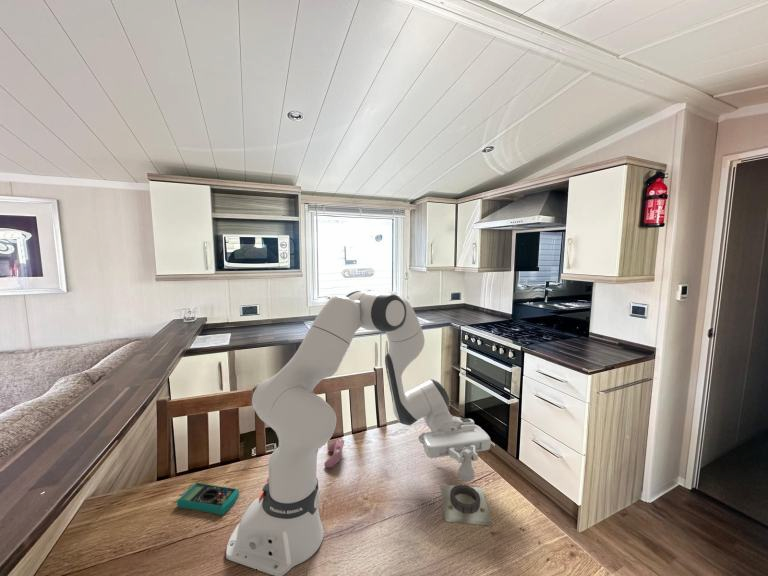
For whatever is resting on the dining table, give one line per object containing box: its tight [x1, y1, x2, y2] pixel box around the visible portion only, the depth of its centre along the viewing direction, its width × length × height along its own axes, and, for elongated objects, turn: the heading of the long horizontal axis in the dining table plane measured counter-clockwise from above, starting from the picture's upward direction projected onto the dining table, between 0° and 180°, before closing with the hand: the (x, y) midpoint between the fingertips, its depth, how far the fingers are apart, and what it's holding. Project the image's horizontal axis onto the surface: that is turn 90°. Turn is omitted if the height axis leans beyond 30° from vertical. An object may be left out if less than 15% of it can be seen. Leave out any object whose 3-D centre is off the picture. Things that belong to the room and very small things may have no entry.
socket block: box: [440, 484, 493, 526], centre depth 88 cm, size 12×12×3 cm
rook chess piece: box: [457, 447, 475, 482], centre depth 87 cm, size 4×4×8 cm
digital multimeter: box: [176, 482, 240, 516], centre depth 88 cm, size 7×15×3 cm, turn 80°
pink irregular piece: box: [324, 438, 345, 469], centre depth 107 cm, size 10×5×7 cm, turn 1°
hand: (468, 459), depth 86 cm, fingers closed on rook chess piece, 3 cm apart
